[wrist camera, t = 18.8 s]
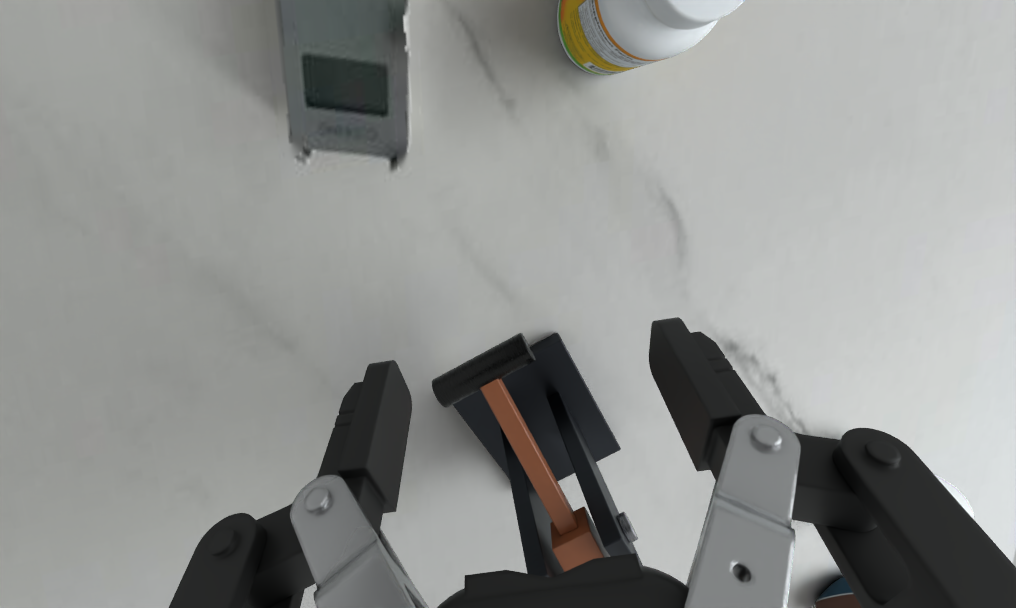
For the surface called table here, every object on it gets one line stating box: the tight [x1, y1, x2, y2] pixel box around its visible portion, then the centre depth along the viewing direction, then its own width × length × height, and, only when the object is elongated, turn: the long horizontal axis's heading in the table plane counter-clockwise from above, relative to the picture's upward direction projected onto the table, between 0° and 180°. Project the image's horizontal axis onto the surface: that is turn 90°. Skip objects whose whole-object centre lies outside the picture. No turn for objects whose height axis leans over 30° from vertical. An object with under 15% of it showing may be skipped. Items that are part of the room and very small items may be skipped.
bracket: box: [453, 333, 643, 577], centre depth 26 cm, size 12×9×13 cm
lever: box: [432, 333, 610, 572], centre depth 22 cm, size 13×6×2 cm, turn 28°
